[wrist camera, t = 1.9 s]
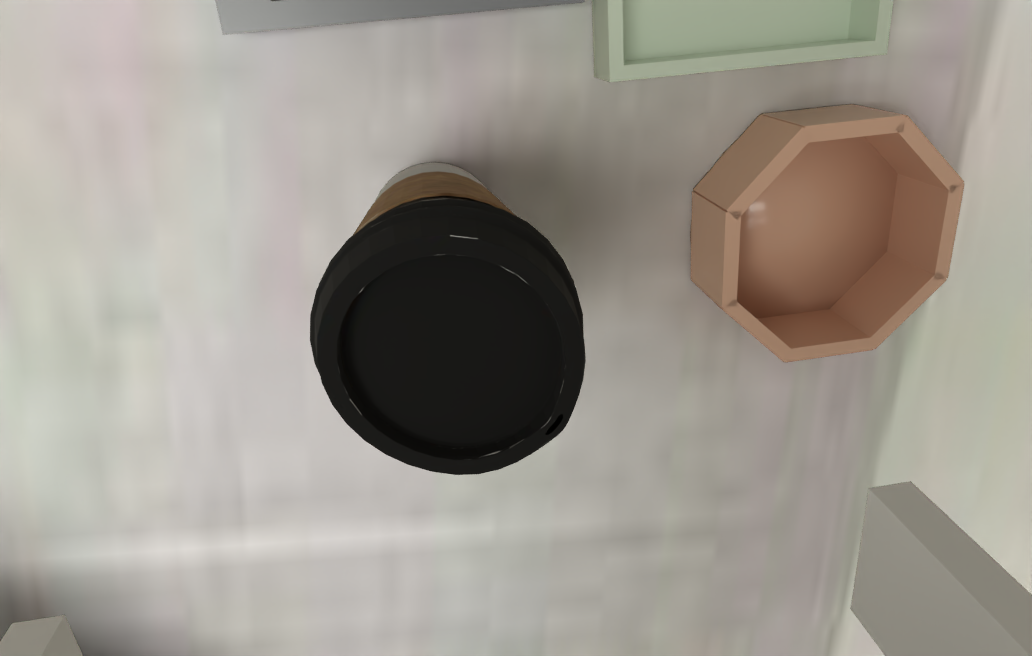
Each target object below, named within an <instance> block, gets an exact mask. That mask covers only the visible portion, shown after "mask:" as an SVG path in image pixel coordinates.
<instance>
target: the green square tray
mask: <svg viewBox="0 0 1032 656" xmlns="http://www.w3.org/2000/svg"><path fill="white" fill-rule="evenodd" d="M892 7H893V0H592V22H593V51H594V77H596V78H599V79H602V80H605V81H608V82H617V81H627V80H637V79H647V78H657V77H667V76H677V75H687V74H696V73H706V72H716V71H726V70H736V69H746V68H756V67H766V66H775V65H785V64H795V63H805V62H815V61H825V60H835V59H845V58H854V57H864V56H874V55H884V54H887V48H888V40H889V32H890V24H891V16H892Z"/></svg>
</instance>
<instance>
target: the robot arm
mask: <svg viewBox="0 0 1032 656" xmlns="http://www.w3.org/2000/svg"><path fill="white" fill-rule="evenodd" d="M851 610H852V611H853V613H854V614H855V616H856V617H857V618H858V620H859V621H860V622H861V624H862V625H863V626H864V628H865V629H866V630H867V632H868V633H869V634H870V636H871V637H872V639H873V640H874V641H875V643H876V644H877V645H878V647H879V648H880V649H881V651H882V652H883V653H884V655H885V656H1032V595H1031V594H1030V593H1029V592H1028V591H1027V590H1026V589H1025V588H1024V587H1023V586H1022V585H1021V584H1020V583H1018V582H1017V581H1016V580H1015V579H1014V578H1013V577H1012V576H1011V575H1010V574H1009V573H1008V572H1007V571H1006V570H1005V569H1004V568H1003V567H1001V566H1000V565H999V564H998V563H997V562H996V561H995V560H994V559H993V558H992V557H991V556H990V555H989V554H988V553H987V552H985V551H984V550H983V549H982V548H981V547H980V546H979V545H978V544H977V543H976V542H975V541H974V540H973V539H972V538H971V537H969V536H968V535H967V534H966V533H965V532H964V531H963V530H962V529H961V528H960V527H959V526H958V525H957V524H956V523H955V522H953V521H952V520H951V519H950V518H949V517H948V516H947V515H946V514H945V513H944V512H943V511H942V510H941V509H940V508H939V507H937V506H936V505H935V504H934V503H933V502H932V501H931V500H930V499H929V498H928V497H927V496H926V495H925V494H924V493H923V492H921V491H920V490H919V489H918V488H917V487H916V486H915V485H914V484H913V483H912V482H905V483H898V484H892V485H886V486H879V487H873V488H869V490H868V496H867V503H866V510H865V516H864V523H863V529H862V536H861V543H860V549H859V556H858V563H857V569H856V576H855V582H854V589H853V596H852V602H851ZM0 656H83V654H82V652H81V650H80V648H79V646H78V643H77V641H76V639H75V637H74V635H73V633H72V630H71V628H70V626H69V624H68V622H67V619H66V617H65V615H61V616H54V617H48V618H42V619H35V620H29V621H23V622H16V623H12V624H11V626H10V627H9V629H8V630H7V632H6V633H5V635H4V636H3V638H2V640H1V641H0Z"/></svg>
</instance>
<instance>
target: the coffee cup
mask: <svg viewBox="0 0 1032 656" xmlns="http://www.w3.org/2000/svg"><path fill="white" fill-rule="evenodd" d="M310 342H311V347H312V352H313V356H314V361H315V365H316V367H317V369H318V372H319V374H320V376H321V380H322V384H323V386H324V388H325V390H326V392H327V394H328V396H329V399H330V401H331V403H332V405H333V406H334V407H335V409H336V410H337V411H338V413H339V414H340V415H341V417H342V418H343V419H344V421H345V422H346V423H347V424H348V425H349V426H350V427H351V428H352V429H353V430H354V431H355V432H356V433H357V434H358V435H359V436H360V437H362V438H363V439H364V440H365V441H366V442H368V443H369V444H371V445H372V446H374V447H375V448H377V449H378V450H380V451H381V452H383V453H384V454H386V455H388V456H391V457H393V458H395V459H397V460H399V461H401V462H404V463H406V464H408V465H411V466H415V467H418V468H422V469H425V470H429V471H432V472H439V473H447V474H454V475H463V474H481V473H485V472H490V471H494V470H498V469H501V468H503V467H506V466H508V465H511V464H513V463H516V462H518V461H519V460H521V459H523V458H525V457H527V456H528V455H530V454H532V453H533V452H535V451H536V450H538V449H539V448H541V447H542V446H544V445H545V444H547V443H548V442H549V441H551V440H552V439H553V438H555V437H556V436H557V435H558V434H559V433H560V432H561V431H562V430H563V429H564V428H565V426H566V425H567V423H568V421H569V419H570V417H571V414H572V412H573V409H574V407H575V404H576V401H577V399H578V396H579V393H580V389H581V385H582V382H583V377H584V369H585V346H584V338H583V314H582V310H581V306H580V302H579V298H578V294H577V291H576V288H575V285H574V281H573V279H572V277H571V275H570V273H569V271H568V269H567V267H566V265H565V263H564V261H563V259H562V257H561V256H560V255H559V254H558V252H557V251H556V250H555V248H554V247H553V246H552V245H551V243H550V242H549V241H548V239H547V238H545V237H544V236H543V235H542V234H541V233H540V232H538V231H537V230H536V229H535V228H534V227H532V226H531V225H530V224H529V223H528V222H526V221H524V220H522V219H520V218H519V217H517V216H516V215H515V214H513V213H512V212H511V211H510V210H509V209H508V208H507V207H506V206H505V205H504V204H503V203H502V202H501V201H500V200H499V199H497V198H496V197H495V196H494V195H493V194H492V193H491V192H490V191H488V190H487V188H486V187H485V186H484V185H483V184H482V183H481V182H480V181H479V180H478V179H477V178H475V177H474V176H473V175H472V174H470V173H469V172H467V171H465V170H463V169H461V168H459V167H456V166H453V165H450V164H445V163H436V162H433V163H422V164H418V165H415V166H412V167H409V168H407V169H405V170H403V171H401V172H400V173H398V174H397V175H396V176H394V177H393V178H392V179H391V180H389V181H388V183H387V184H386V185H385V186H384V188H383V189H382V190H381V191H380V193H379V195H378V197H377V199H376V201H375V203H374V204H373V205H372V206H371V208H370V210H369V211H368V213H367V214H366V216H365V217H364V219H363V220H362V222H361V223H360V225H359V226H358V228H357V230H356V231H355V233H354V234H353V236H352V237H351V238H349V239H348V240H347V241H346V243H345V244H344V245H343V246H342V248H341V249H340V250H339V251H338V252H337V254H336V255H335V256H334V257H333V259H332V260H331V261H330V263H329V265H328V267H327V269H326V271H325V273H324V275H323V277H322V279H321V281H320V283H319V286H318V288H317V290H316V295H315V299H314V303H313V307H312V311H311V317H310Z"/></svg>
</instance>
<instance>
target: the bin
mask: <svg viewBox="0 0 1032 656" xmlns="http://www.w3.org/2000/svg"><path fill="white" fill-rule="evenodd" d="M963 182H964V181H963V180H962V179H961V177H960V176H959V175H958V174H957V173H956V172H955V170H954V169H953V168H952V167H951V166H950V165H949V163H948V162H947V161H946V160H945V159H944V158H943V156H942V155H941V154H940V153H939V152H938V151H937V149H936V148H935V147H934V146H933V145H932V144H931V142H930V141H929V140H928V139H927V138H926V137H925V135H924V134H923V133H922V132H921V131H920V130H919V128H918V127H917V126H916V125H915V124H914V123H913V121H912V120H911V119H910V118H909V117H908V116H907V115H903V114H898V113H893V112H889V111H884V110H879V109H874V108H869V107H864V106H859V105H854V104H849V105H839V106H830V107H821V108H811V109H802V110H793V111H784V112H774V113H765V114H762V115H759V116H758V117H757V119H756V120H755V121H754V122H753V123H752V124H751V125H750V126H749V127H748V129H747V130H746V131H745V132H744V133H743V134H742V135H741V136H740V138H739V139H737V140H736V141H735V142H734V143H733V144H732V145H731V146H730V147H729V148H728V149H727V150H726V151H725V152H724V153H723V154H722V156H721V157H720V158H719V159H718V161H717V162H716V163H715V164H714V166H713V167H712V169H711V170H710V171H709V172H708V173H707V174H706V176H705V177H704V178H703V179H702V180H701V181H700V182H699V183H698V184H697V186H696V187H695V188H694V189H693V190H694V191H692V220H691V231H690V241H691V281H692V282H694V283H695V284H696V285H697V286H698V287H699V288H700V289H701V290H702V291H703V292H704V293H705V294H706V295H707V296H708V297H709V298H711V299H712V300H713V301H714V302H715V303H716V304H717V305H718V306H719V307H720V308H721V309H722V310H723V311H725V312H726V313H727V314H728V315H729V316H730V317H732V318H733V319H734V320H735V321H736V322H737V323H739V324H740V325H741V326H742V327H743V328H744V329H746V330H747V331H748V332H749V333H750V334H751V335H753V336H754V337H755V338H756V339H757V340H758V341H760V342H761V343H762V344H763V345H764V346H765V347H767V348H768V349H769V350H770V351H771V352H772V353H774V354H775V355H776V356H777V357H778V358H779V359H781V360H782V361H783V362H792V361H799V360H806V359H813V358H820V357H827V356H834V355H841V354H848V353H855V352H862V351H869V350H873V349H876V348H877V347H878V346H879V345H880V344H881V343H882V342H883V341H884V340H885V339H886V338H887V337H888V336H889V335H890V334H891V333H892V332H893V331H894V330H895V329H896V328H897V327H898V326H900V325H901V324H902V323H903V322H904V321H905V320H906V319H907V318H908V317H909V316H910V315H911V314H912V313H913V312H914V311H915V310H916V309H917V308H918V307H919V306H920V305H921V304H922V303H923V302H924V301H925V300H926V299H927V298H928V297H930V296H931V295H932V294H933V293H934V292H935V291H936V290H937V289H938V288H939V287H940V286H941V285H942V284H943V283H944V282H945V281H946V278H948V274H949V268H950V262H951V257H952V251H953V245H954V240H955V234H956V229H957V223H958V217H959V212H960V206H961V200H962V195H963V189H964V183H963Z"/></svg>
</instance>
